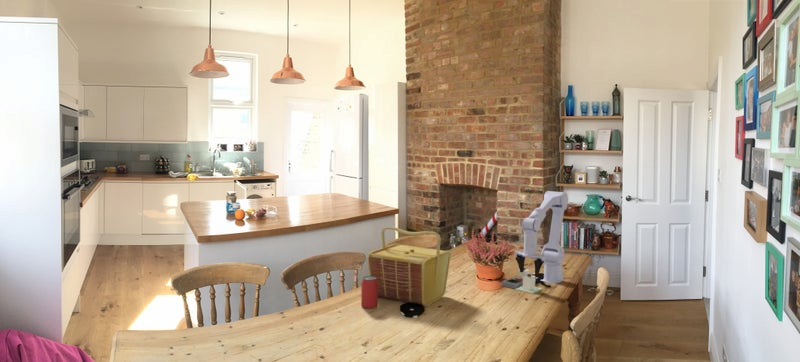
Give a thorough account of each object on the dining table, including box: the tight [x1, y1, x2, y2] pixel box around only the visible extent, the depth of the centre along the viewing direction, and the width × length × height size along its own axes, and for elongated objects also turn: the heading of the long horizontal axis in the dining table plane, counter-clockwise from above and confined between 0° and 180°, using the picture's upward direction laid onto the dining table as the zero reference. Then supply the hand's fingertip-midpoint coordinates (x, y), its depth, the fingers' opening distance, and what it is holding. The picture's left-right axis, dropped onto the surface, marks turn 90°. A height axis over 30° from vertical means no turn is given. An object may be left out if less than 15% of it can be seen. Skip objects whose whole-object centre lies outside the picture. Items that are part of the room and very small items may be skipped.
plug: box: [523, 273, 536, 291], centre depth 238 cm, size 4×4×7 cm
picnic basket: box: [367, 226, 451, 307], centre depth 226 cm, size 29×26×30 cm
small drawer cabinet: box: [501, 275, 537, 290], centre depth 248 cm, size 18×8×3 cm, turn 137°
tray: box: [515, 286, 543, 295], centre depth 239 cm, size 8×8×1 cm
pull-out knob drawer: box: [517, 267, 531, 279], centre depth 251 cm, size 4×4×7 cm
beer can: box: [360, 275, 378, 310], centre depth 214 cm, size 7×7×12 cm
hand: (529, 273), depth 238 cm, fingers open, 7 cm apart
